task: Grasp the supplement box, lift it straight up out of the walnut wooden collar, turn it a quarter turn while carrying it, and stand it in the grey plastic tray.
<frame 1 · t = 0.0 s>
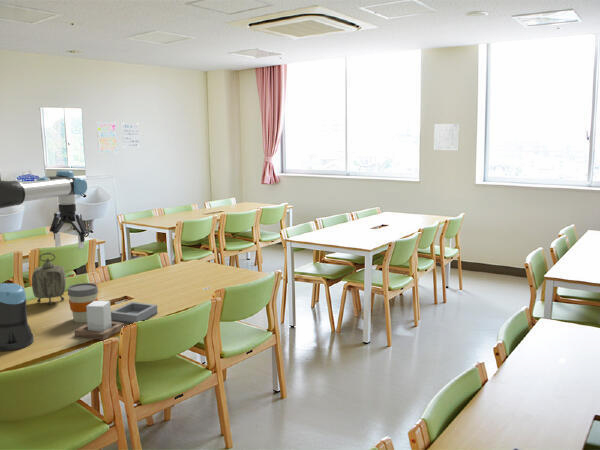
hand: (69, 247, 258), 28 cm above the table, tool pointing down, fingers open, 13 cm apart
walnut collar: (100, 332, 226), on the table
supplement box: (100, 332, 226), resting in walnut collar
grey tray: (134, 317, 245), on the table
reusable coffee cup: (84, 319, 242), on the table
tabletop clock: (50, 303, 263), on the table
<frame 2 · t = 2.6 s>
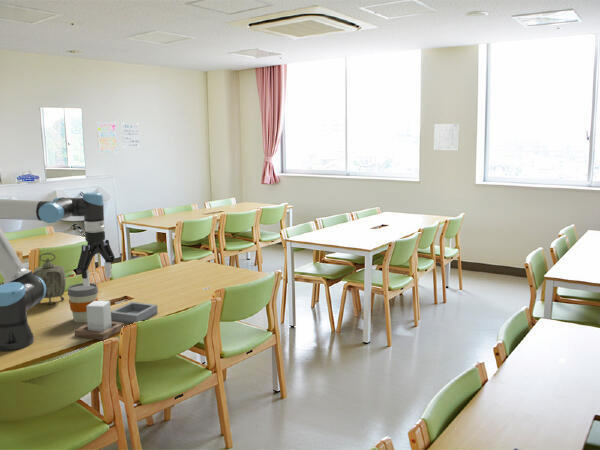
hand: (97, 281, 222), 22 cm above the table, tool pointing down, fingers open, 13 cm apart
nothing on the table moved.
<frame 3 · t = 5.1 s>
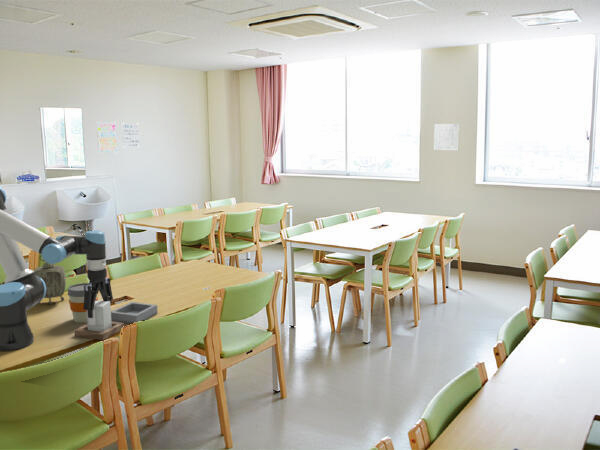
hand: (99, 321, 225), 5 cm above the table, tool pointing down, fingers closed on supplement box, 8 cm apart
supplement box: (100, 332, 226), resting in walnut collar, touching gripper
everything else where it was.
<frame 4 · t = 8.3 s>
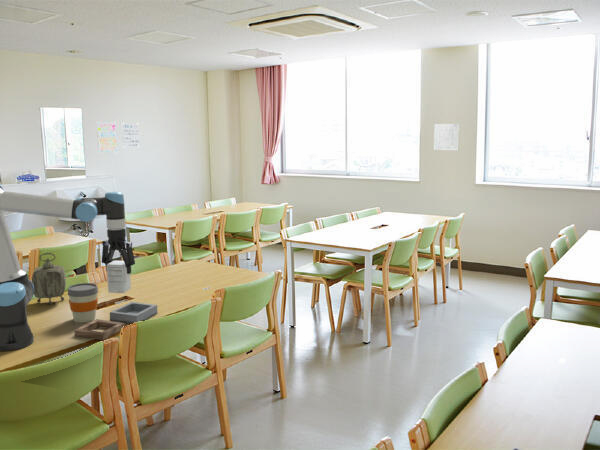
hand: (119, 279, 233), 20 cm above the table, tool pointing down, fingers closed on supplement box, 8 cm apart
supplement box: (119, 291, 234), point 15 cm above the table, touching gripper
everything else where it was.
when the fingers open (7 cm above the table, at t = 11.9 s): supplement box drops 2 cm, resting on grey tray.
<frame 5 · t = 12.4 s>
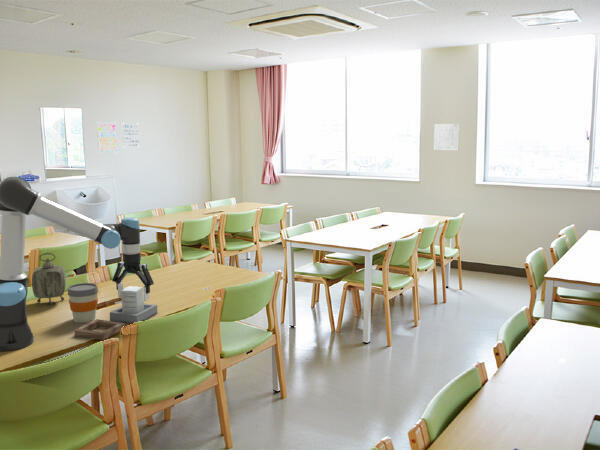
hand: (133, 298, 244), 9 cm above the table, tool pointing down, fingers open, 13 cm apart
supplement box: (133, 315, 245), point 1 cm above the table, touching grey tray
everything else where it was.
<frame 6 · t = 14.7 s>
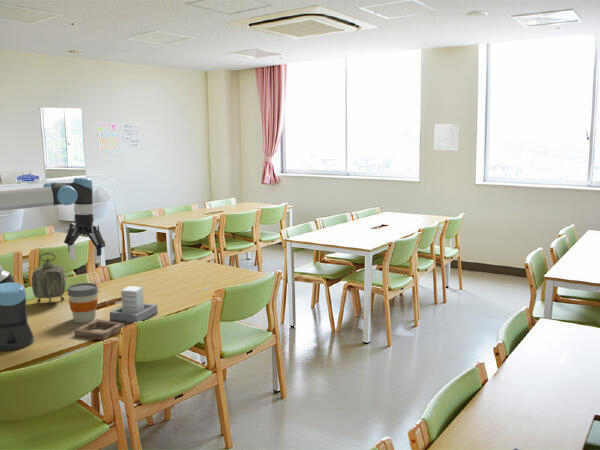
hand: (85, 261, 237), 27 cm above the table, tool pointing down, fingers open, 13 cm apart
nothing on the table moved.
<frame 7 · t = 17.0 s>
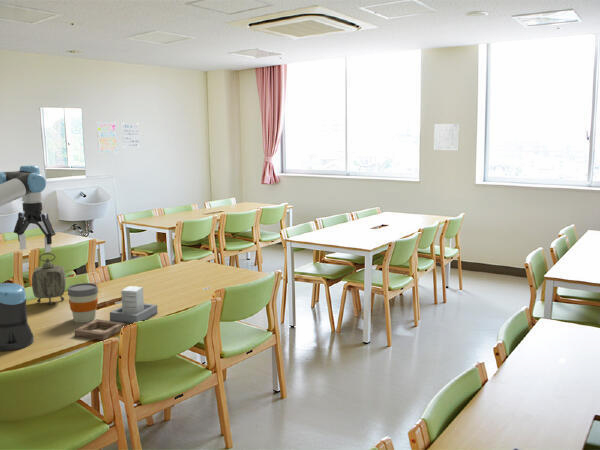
hand: (35, 250, 234), 32 cm above the table, tool pointing down, fingers open, 13 cm apart
nothing on the table moved.
at the end: supplement box inside the target area on the grey tray (0.4 cm from its centre), point 0.6 cm above the grey tray's base; supplement box tilted 0°; the gripper is holding nothing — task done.
